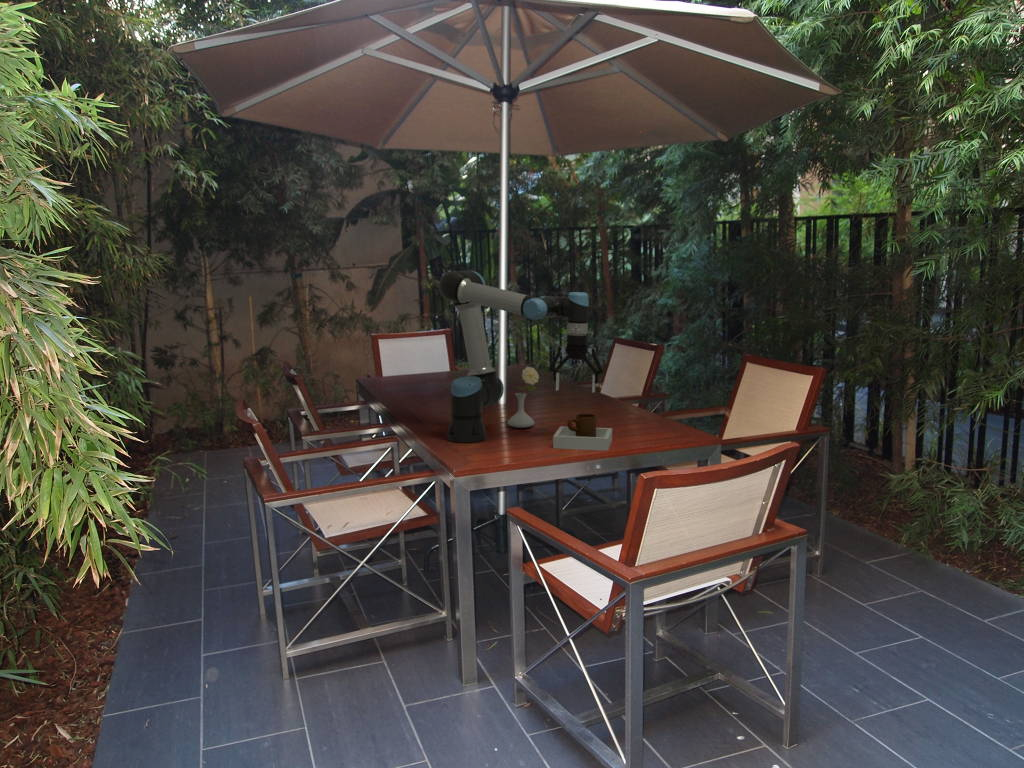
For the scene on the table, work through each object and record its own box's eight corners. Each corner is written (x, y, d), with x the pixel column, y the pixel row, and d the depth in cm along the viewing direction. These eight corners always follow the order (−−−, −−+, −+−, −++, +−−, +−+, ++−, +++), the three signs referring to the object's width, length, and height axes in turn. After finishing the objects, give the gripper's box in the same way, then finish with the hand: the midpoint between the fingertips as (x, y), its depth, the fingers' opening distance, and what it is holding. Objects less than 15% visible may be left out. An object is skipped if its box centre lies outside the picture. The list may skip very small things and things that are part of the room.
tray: (553, 448, 294) (553, 436, 293) (560, 437, 311) (560, 426, 311) (607, 450, 290) (608, 438, 289) (612, 439, 307) (612, 428, 307)
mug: (573, 444, 294) (573, 419, 293) (561, 440, 301) (562, 416, 299) (599, 441, 300) (600, 416, 299) (588, 437, 307) (588, 412, 305)
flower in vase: (510, 430, 325) (510, 369, 321) (504, 424, 336) (504, 365, 332) (541, 428, 327) (541, 368, 323) (535, 423, 338) (535, 364, 334)
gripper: (542, 333, 295) (540, 390, 299) (610, 336, 290) (607, 394, 294) (545, 331, 303) (544, 387, 306) (612, 334, 298) (609, 391, 301)
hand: (575, 391), depth 300 cm, fingers open, 13 cm apart
